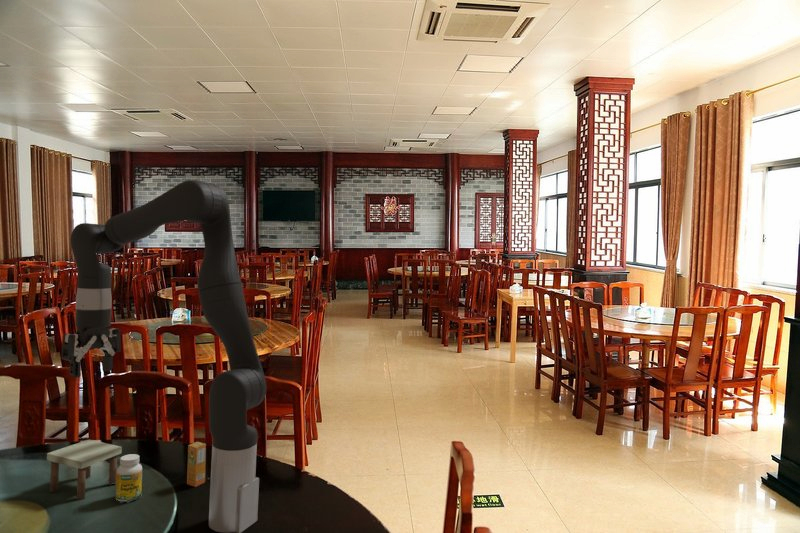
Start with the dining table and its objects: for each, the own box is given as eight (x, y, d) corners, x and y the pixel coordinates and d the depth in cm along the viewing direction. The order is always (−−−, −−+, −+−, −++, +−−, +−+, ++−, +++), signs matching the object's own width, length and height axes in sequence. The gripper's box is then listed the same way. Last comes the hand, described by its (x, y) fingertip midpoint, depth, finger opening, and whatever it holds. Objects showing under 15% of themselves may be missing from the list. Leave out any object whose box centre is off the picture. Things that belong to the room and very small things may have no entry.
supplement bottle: (139, 491, 129) (141, 451, 129) (142, 500, 125) (144, 459, 125) (114, 495, 126) (115, 455, 126) (116, 505, 122) (118, 462, 122)
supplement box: (185, 484, 134) (187, 444, 134) (196, 479, 137) (198, 440, 137) (194, 487, 133) (196, 447, 132) (205, 483, 136) (207, 443, 135)
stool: (120, 483, 133) (121, 446, 133) (79, 501, 123) (81, 461, 122) (87, 474, 137) (88, 439, 137) (45, 491, 126) (47, 453, 126)
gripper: (78, 310, 122) (76, 381, 123) (129, 305, 136) (127, 370, 136) (54, 308, 125) (52, 378, 125) (107, 304, 138) (105, 367, 138)
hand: (91, 374), depth 130 cm, fingers open, 8 cm apart
